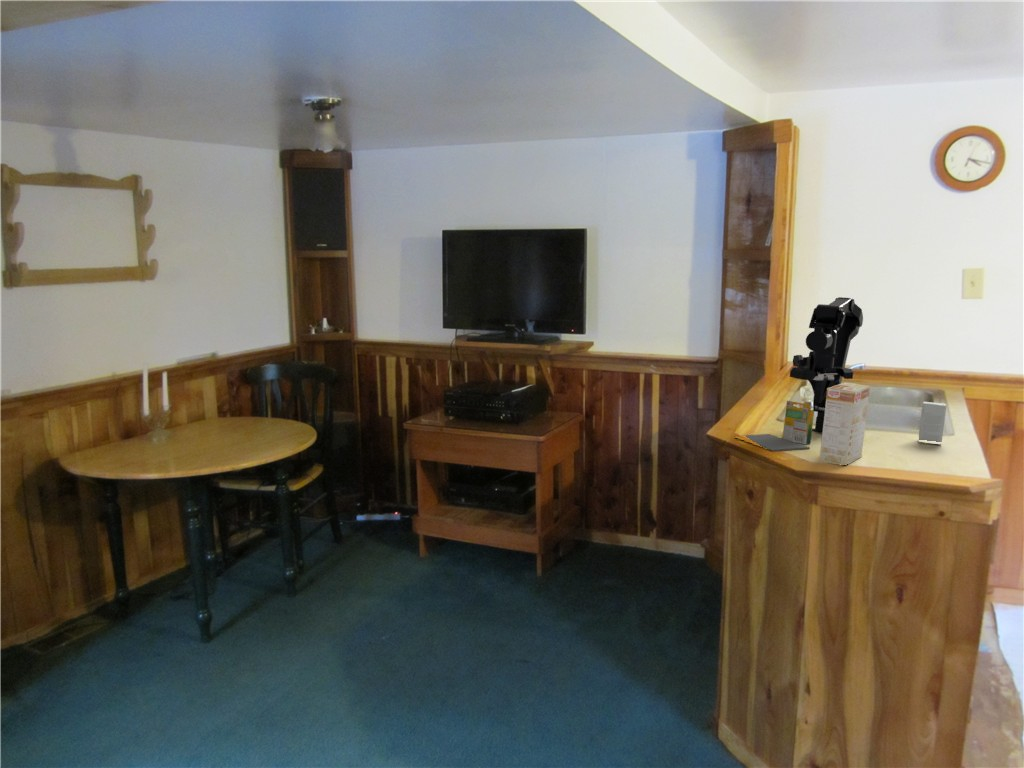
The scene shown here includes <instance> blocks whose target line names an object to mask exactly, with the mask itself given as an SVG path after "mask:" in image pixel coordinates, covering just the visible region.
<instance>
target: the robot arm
mask: <svg viewBox="0 0 1024 768" xmlns="http://www.w3.org/2000/svg"><path fill="white" fill-rule="evenodd" d="M863 315H864V314H863V310H862V308H861V307H860V306H858V304H856V303H855V299H854V298H852V297H842V296H841V297H840V296H839V297H836V298H835V300H833V301H832V302H830V303H829V304H820V303H818V304H817V306H816V307H814V309H813V312H812V315H811V319H810V322H809V325H808V329H813V331H810V332H809V333H808V334H807V336H806V337H805V345H806V348H807V349H809V350H810V351H809V353H808V356H806V357H805V356H804V357H803V355H802V354H796V355H793V359H792V365H793V366H794V367H792V368H791V369H790V370H789V371H790V372H789V378H793V379H797V380H803V381H808V382H809V383H810V385H811V389H812V391H813V399H812V400H813V409H812V410H814V413H815V412H816V414H817V416H816V417H815V428H812V432H816V433H820V434H822V432H823V423H824V414H825V405H826V396H827V388H829V387H832V386H835V385H838V384H841V383H842V381H843V379H846V380H852V379H853V377H854V370H852V368H849V367H846V364H847V363H846V362H847V358H848V354H849V351H850V344H851V341H852V340H853V339H854V338H855V337H856V336H857V335H858V334H859V332H860V328H861V327H862V326H863V322H864V316H863Z"/></svg>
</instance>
